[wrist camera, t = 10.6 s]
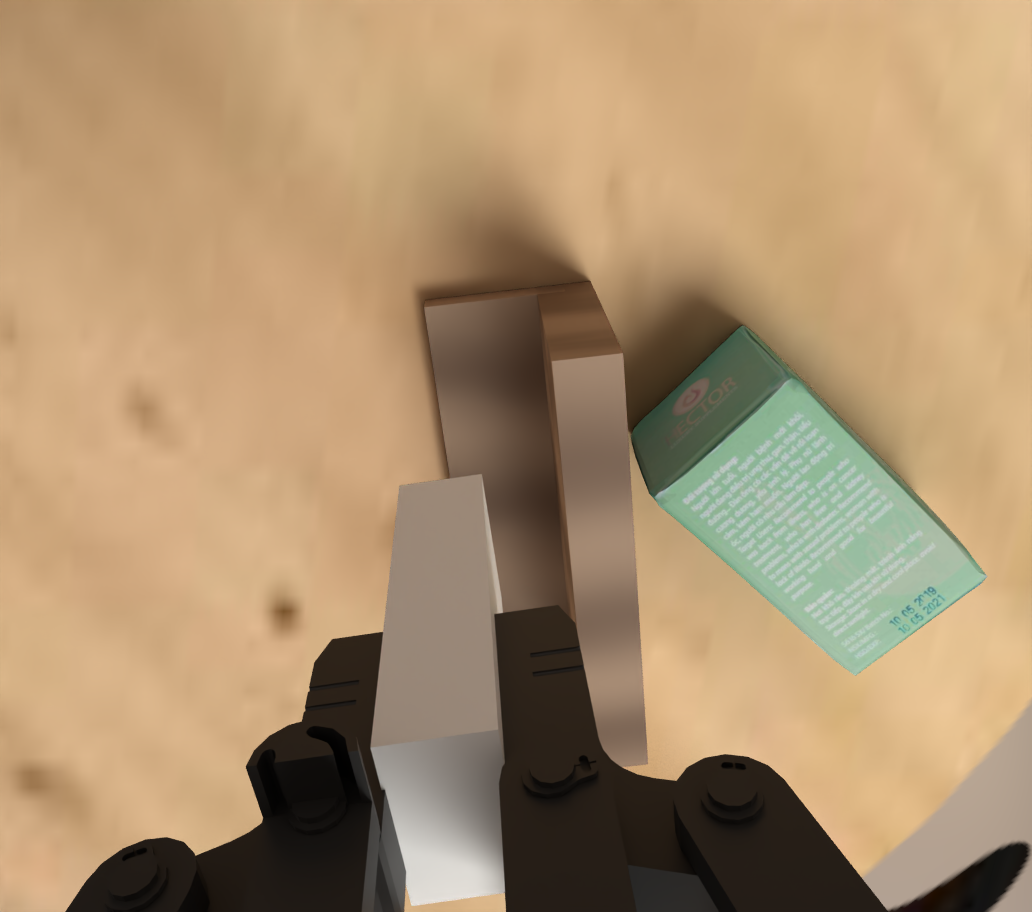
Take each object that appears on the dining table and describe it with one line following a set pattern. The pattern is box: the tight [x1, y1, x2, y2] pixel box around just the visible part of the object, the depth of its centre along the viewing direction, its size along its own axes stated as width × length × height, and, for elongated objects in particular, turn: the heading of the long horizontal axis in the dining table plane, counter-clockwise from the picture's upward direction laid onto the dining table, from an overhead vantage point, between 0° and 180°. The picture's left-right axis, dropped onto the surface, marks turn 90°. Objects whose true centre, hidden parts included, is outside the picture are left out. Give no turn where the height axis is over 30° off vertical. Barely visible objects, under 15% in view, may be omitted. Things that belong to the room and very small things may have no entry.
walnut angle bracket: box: [424, 281, 648, 767], centre depth 39 cm, size 18×7×10 cm, turn 6°
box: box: [631, 325, 987, 676], centre depth 41 cm, size 7×14×8 cm, turn 47°
